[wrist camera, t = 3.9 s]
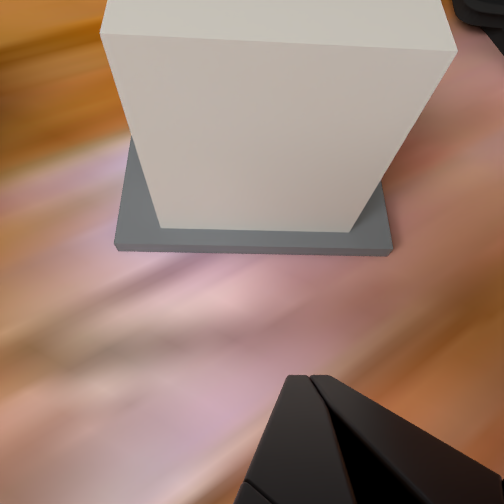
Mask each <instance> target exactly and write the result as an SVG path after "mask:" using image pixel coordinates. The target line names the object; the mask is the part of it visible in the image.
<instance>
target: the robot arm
mask: <svg viewBox="0 0 504 504" xmlns="http://www.w3.org/2000/svg"><path fill="white" fill-rule="evenodd" d="M233 504H504V479H503V480H502V478H501V476H500V475H499V474H497V473H495V472H494V471H492V470H490V469H489V468H487V467H485V466H483V465H482V464H480V463H478V462H477V461H475V460H473V459H471V458H470V457H468V456H466V455H465V454H463V453H461V452H460V451H458V450H456V449H454V448H453V447H451V446H449V445H448V444H446V443H444V442H442V441H441V440H439V439H437V438H436V437H434V436H432V435H431V434H429V433H427V432H425V431H424V430H422V429H420V428H419V427H417V426H415V425H414V424H412V423H410V422H408V421H407V420H405V419H403V418H402V417H400V416H398V415H396V414H395V413H393V412H391V411H390V410H388V409H386V408H385V407H383V406H381V405H379V404H378V403H376V402H374V401H373V400H371V399H369V398H368V397H366V396H364V395H362V394H361V393H359V392H357V391H356V390H354V389H352V388H350V387H349V386H347V385H345V384H344V383H342V382H340V381H339V380H337V379H335V378H333V377H332V376H329V375H311V376H310V377H308V376H307V375H288V376H287V378H286V380H285V382H284V385H283V387H282V389H281V392H280V394H279V397H278V399H277V401H276V404H275V406H274V409H273V411H272V413H271V416H270V418H269V421H268V423H267V425H266V428H265V430H264V433H263V435H262V437H261V440H260V442H259V445H258V447H257V449H256V452H255V454H254V457H253V459H252V461H251V464H250V466H249V469H248V471H247V473H246V476H245V478H244V481H243V483H242V484H241V486H240V489H239V491H238V493H237V496H236V498H235V501H234V503H233Z"/></svg>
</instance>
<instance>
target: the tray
mask: <svg viewBox="0 0 504 504" xmlns="http://www.w3.org/2000/svg"><path fill="white" fill-rule="evenodd" d="M452 2H453V6H454V10H455V14H456V15H457V17H458V18H459V19H460V20H461V21H463V22H465V23H467V24H471V25H476V26H481V27H482V28H483V30H484V31H485V32H486V34H487V35H488V36H489V37H490V39H491V40H492V41H493V43H494V44H495V45H496V46H497V48H498V49H499V50H500V52H501V53H502V54H503V55H504V0H452Z"/></svg>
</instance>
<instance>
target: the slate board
mask: <svg viewBox="0 0 504 504" xmlns="http://www.w3.org/2000/svg"><path fill="white" fill-rule="evenodd" d="M114 245H115V246H116V248H117V250H118V251H139V252H190V253H241V254H292V255H343V256H388V255H389V253H390V252H391V251H392V250H393V245H392V239H391V234H390V228H389V223H388V217H387V212H386V206H385V200H384V195H383V189H382V184H381V180H380V182H379V184H378V185H377V187H376V189H375V190H374V192H373V194H372V195H371V197H370V199H369V200H368V202H367V204H366V205H365V207H364V209H363V210H362V212H361V214H360V215H359V217H358V218H357V220H356V222H355V223H354V225H353V227H352V228H351V230H350V232H349V233H348V232H305V231H261V230H218V229H174V228H161V227H160V224H159V221H158V218H157V215H156V211H155V208H154V205H153V202H152V199H151V195H150V192H149V189H148V186H147V183H146V179H145V176H144V173H143V170H142V167H141V163H140V160H139V157H138V154H137V151H136V147H135V144H134V141H133V138H132V135H131V141H130V147H129V153H128V160H127V166H126V172H125V178H124V184H123V190H122V196H121V203H120V209H119V215H118V221H117V227H116V233H115V240H114Z"/></svg>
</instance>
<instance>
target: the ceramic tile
mask: <svg viewBox="0 0 504 504" xmlns="http://www.w3.org/2000/svg"><path fill="white" fill-rule="evenodd" d="M100 36H101V39H102V42H103V45H104V49H105V52H106V55H107V58H108V61H109V64H110V68H111V71H112V74H113V77H114V80H115V84H116V87H117V90H118V93H119V96H120V100H121V103H122V106H123V109H124V112H125V116H126V119H127V122H128V125H129V128H130V132H131V135H132V138H133V141H134V144H135V147H136V151H137V154H138V157H139V160H140V163H141V167H142V170H143V173H144V176H145V179H146V183H147V186H148V189H149V192H150V195H151V199H152V202H153V205H154V208H155V211H156V215H157V218H158V221H159V224H160V227H161V228H174V229H218V230H261V231H305V232H348V233H349V232H350V230H351V228H352V227H353V225H354V223H355V222H356V220H357V218H358V217H359V215H360V214H361V212H362V210H363V209H364V207H365V205H366V204H367V202H368V200H369V199H370V197H371V195H372V194H373V192H374V190H375V189H376V187H377V185H378V184H379V182H380V180H381V179H382V177H383V175H384V174H385V172H386V170H387V169H388V167H389V165H390V164H391V162H392V160H393V159H394V157H395V155H396V154H397V152H398V150H399V149H400V147H401V145H402V144H403V142H404V140H405V139H406V137H407V135H408V134H409V132H410V130H411V129H412V127H413V125H414V124H415V122H416V120H417V119H418V117H419V115H420V114H421V112H422V110H423V109H424V107H425V105H426V104H427V102H428V100H429V99H430V97H431V95H432V94H433V92H434V90H435V89H436V87H437V85H438V84H439V82H440V80H441V79H442V77H443V75H444V74H445V72H446V70H447V69H448V67H449V65H450V64H451V62H452V60H453V59H454V57H455V55H456V54H457V52H458V50H457V47H456V44H455V41H454V38H453V35H452V32H451V29H450V27H449V24H448V21H447V18H446V15H445V12H444V9H443V6H442V3H441V0H108V1H107V5H106V9H105V14H104V18H103V22H102V26H101V30H100Z"/></svg>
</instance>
